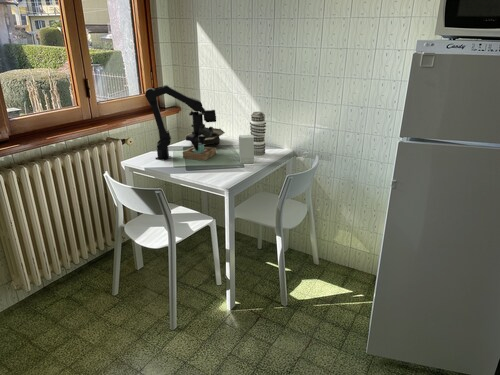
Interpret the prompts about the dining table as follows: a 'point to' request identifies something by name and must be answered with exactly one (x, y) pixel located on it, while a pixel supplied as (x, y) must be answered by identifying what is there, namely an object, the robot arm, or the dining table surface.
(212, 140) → the stone bowl
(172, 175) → the dining table surface
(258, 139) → the decorative candle
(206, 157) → the walled box
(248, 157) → the skincare box
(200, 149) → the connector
